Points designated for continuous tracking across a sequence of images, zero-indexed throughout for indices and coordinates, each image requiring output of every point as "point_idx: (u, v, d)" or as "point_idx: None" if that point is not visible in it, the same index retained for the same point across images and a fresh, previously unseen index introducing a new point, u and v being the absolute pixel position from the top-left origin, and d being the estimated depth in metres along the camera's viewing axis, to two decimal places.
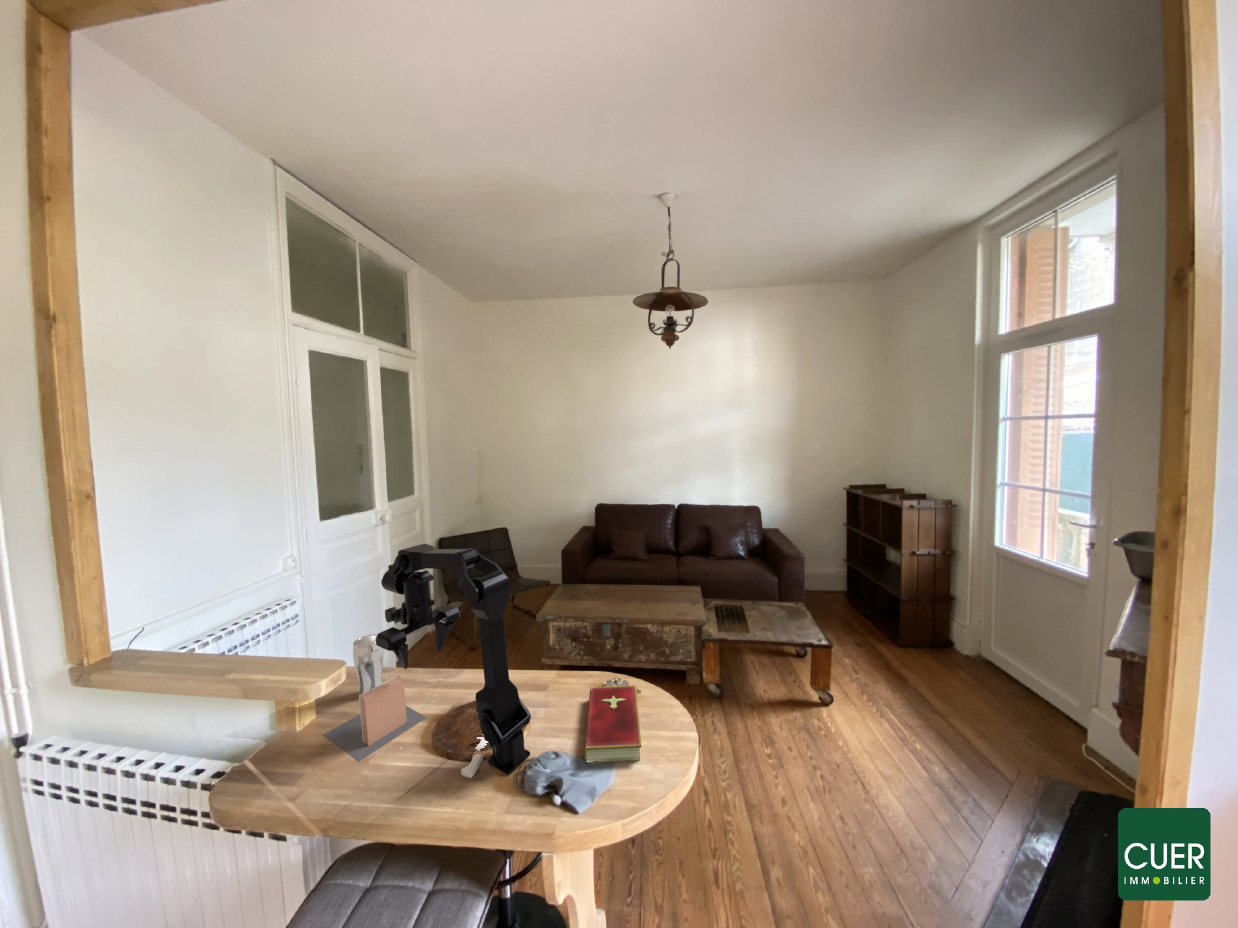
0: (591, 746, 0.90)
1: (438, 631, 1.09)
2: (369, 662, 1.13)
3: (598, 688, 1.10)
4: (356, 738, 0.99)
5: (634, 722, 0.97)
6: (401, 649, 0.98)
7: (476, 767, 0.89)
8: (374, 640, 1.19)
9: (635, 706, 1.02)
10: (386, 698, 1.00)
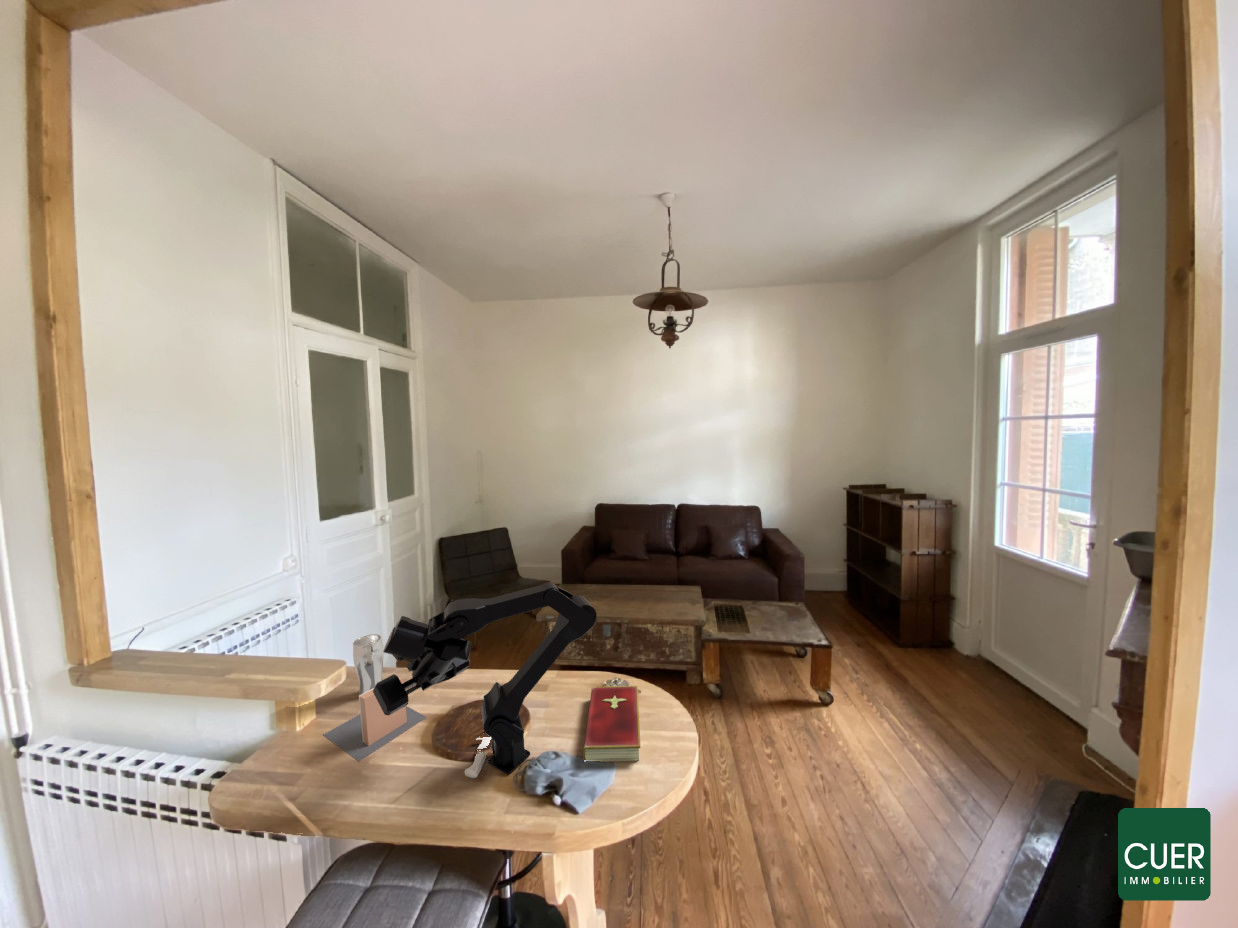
0: (590, 745, 0.90)
1: None
2: (369, 662, 1.13)
3: (600, 688, 1.10)
4: (356, 738, 0.99)
5: (634, 722, 0.97)
6: (400, 708, 0.85)
7: (480, 767, 0.89)
8: (374, 640, 1.19)
9: (636, 706, 1.02)
10: None
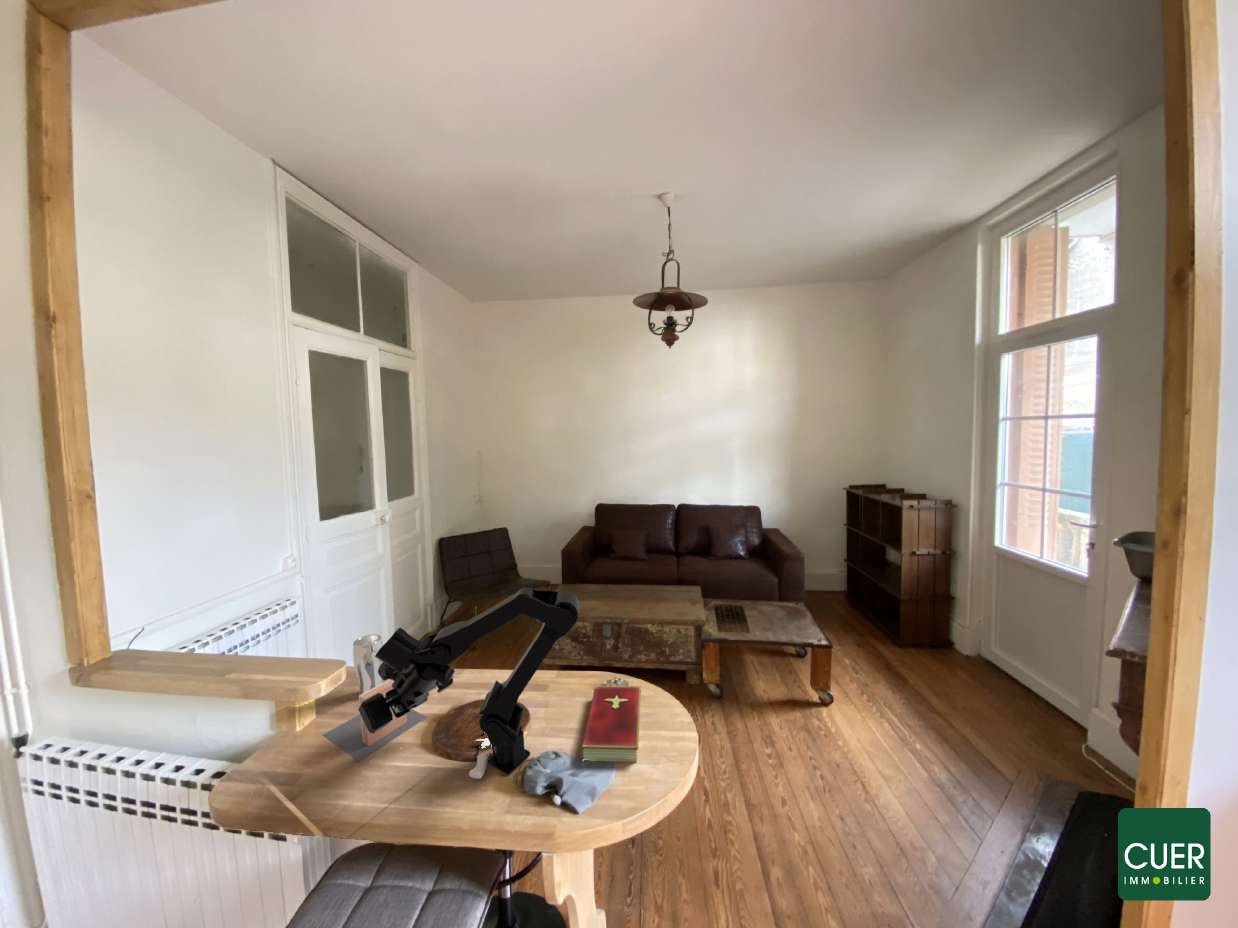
0: (588, 745, 0.91)
1: None
2: (369, 662, 1.13)
3: (602, 687, 1.10)
4: (356, 738, 0.99)
5: (634, 723, 0.96)
6: None
7: (484, 767, 0.89)
8: (374, 640, 1.19)
9: (637, 707, 1.02)
10: None
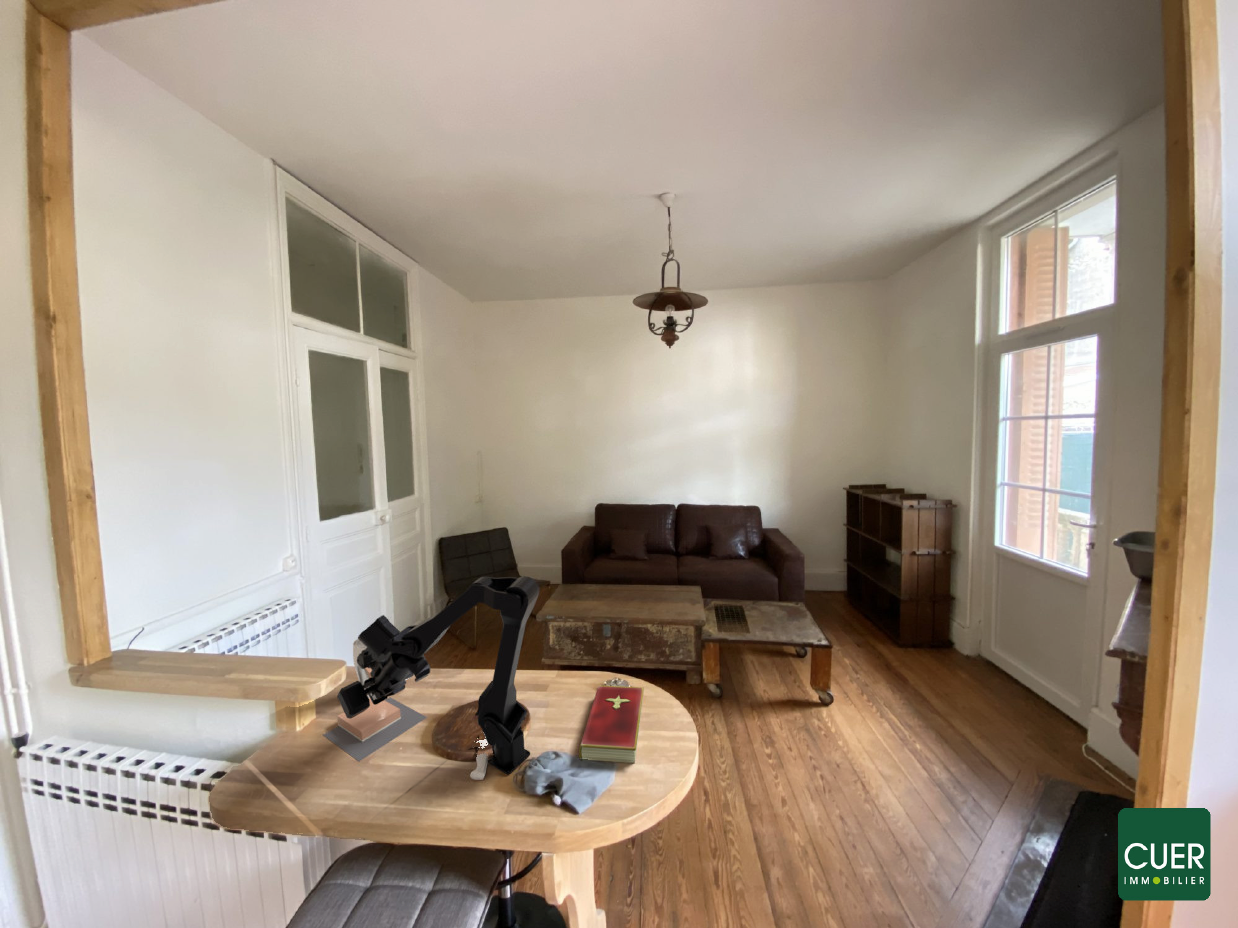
0: (586, 744, 0.91)
1: None
2: None
3: (605, 687, 1.10)
4: (356, 738, 0.99)
5: (634, 724, 0.96)
6: None
7: (485, 768, 0.88)
8: None
9: (638, 708, 1.01)
10: None
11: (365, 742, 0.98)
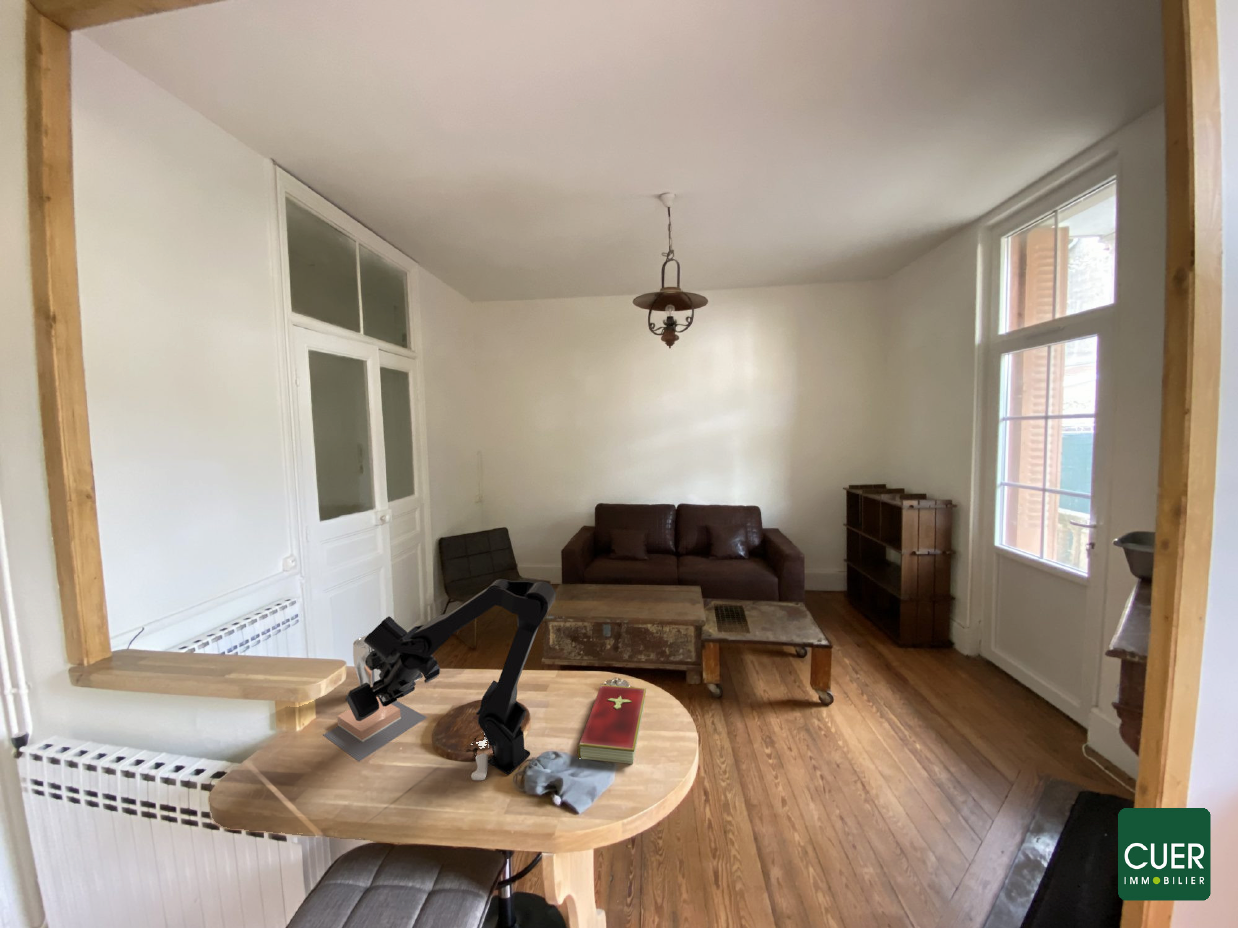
0: (585, 743, 0.91)
1: None
2: None
3: (608, 686, 1.10)
4: (356, 738, 0.99)
5: (634, 725, 0.96)
6: (389, 704, 0.95)
7: (486, 768, 0.88)
8: None
9: (639, 709, 1.01)
10: None
11: (365, 742, 0.98)
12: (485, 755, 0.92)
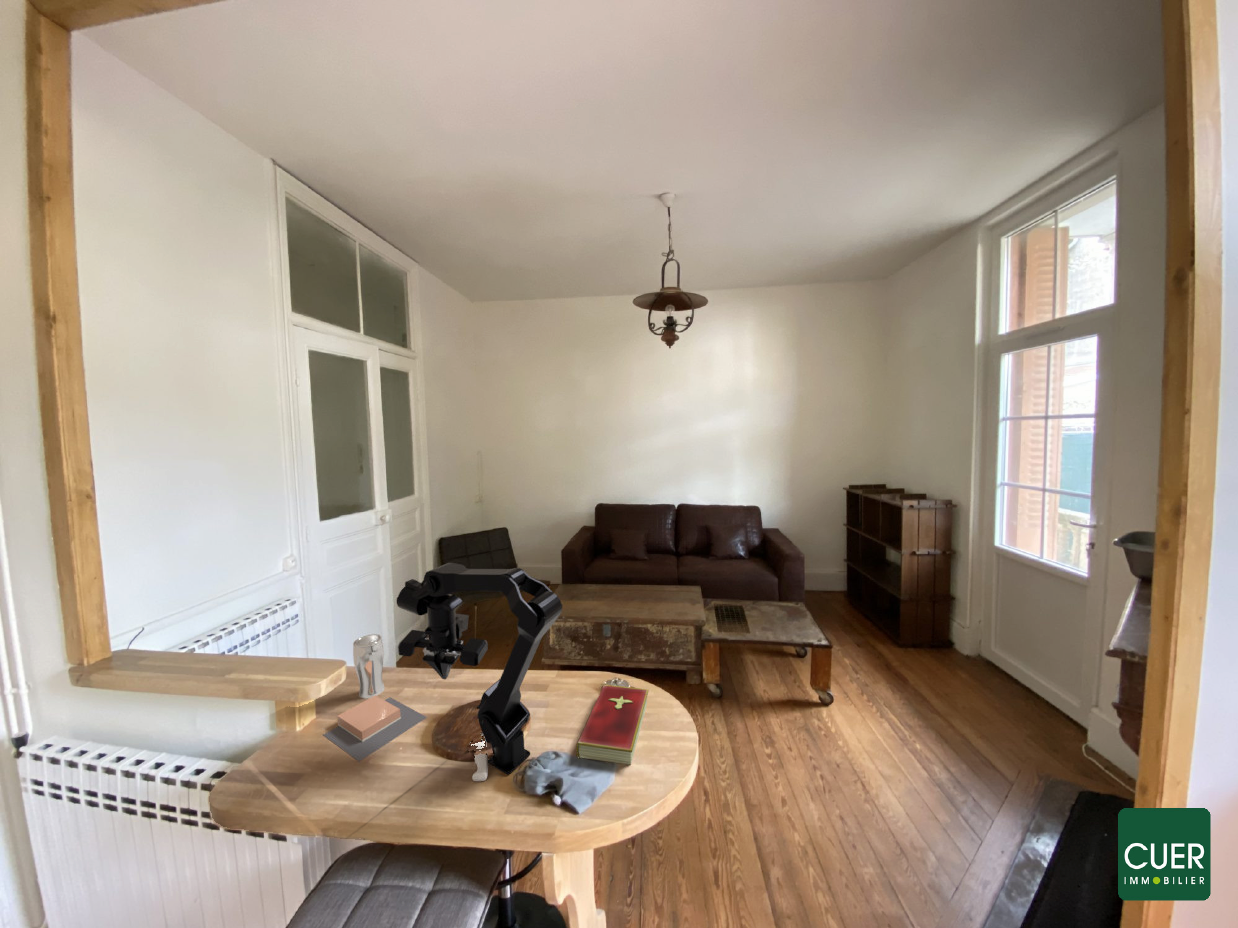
0: (584, 742, 0.91)
1: None
2: (369, 662, 1.13)
3: (610, 686, 1.10)
4: (356, 738, 0.99)
5: (633, 726, 0.96)
6: (427, 661, 0.96)
7: (487, 769, 0.88)
8: (374, 640, 1.19)
9: (640, 710, 1.01)
10: (363, 707, 1.06)
11: (365, 742, 0.98)
12: (484, 756, 0.91)
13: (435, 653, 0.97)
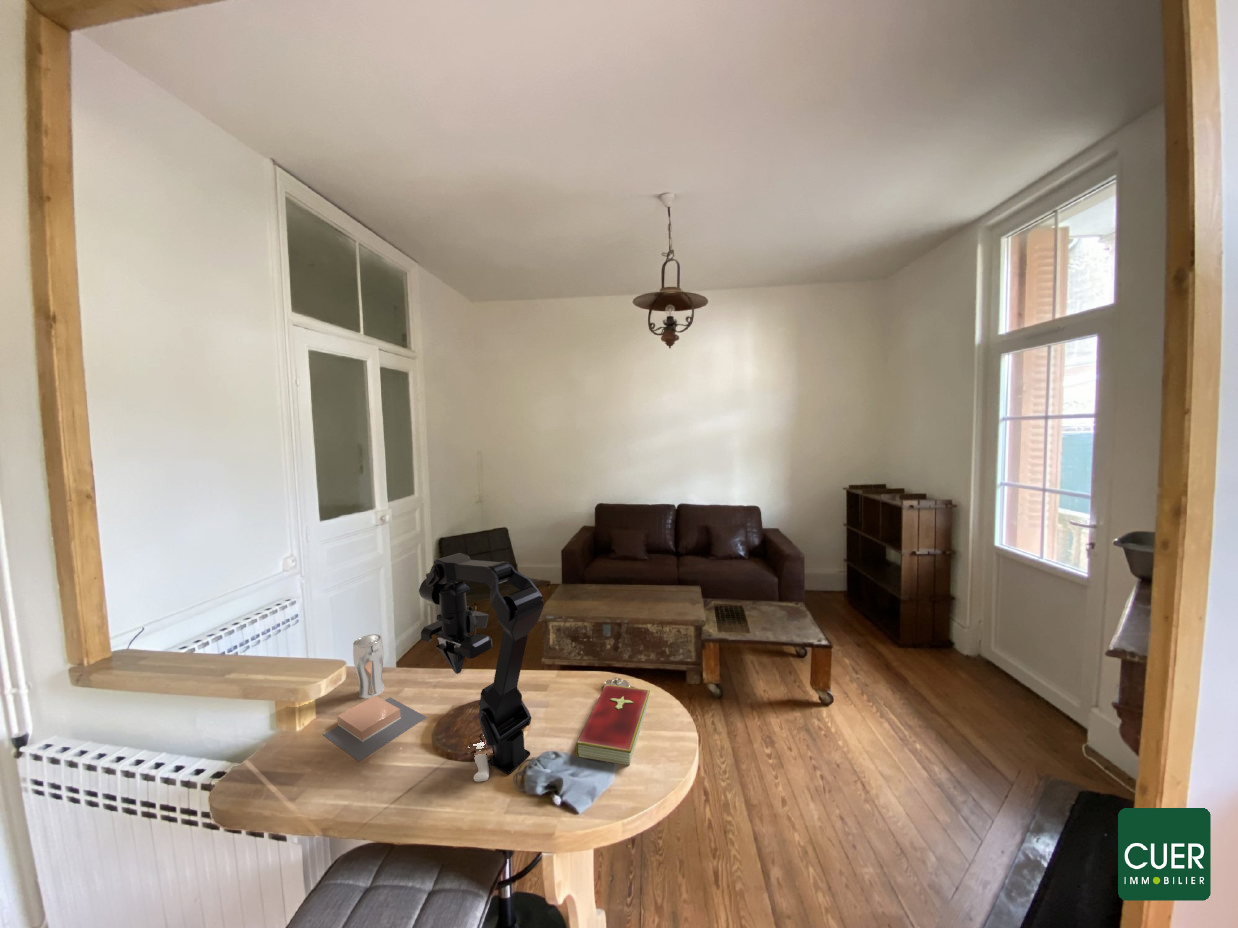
0: (583, 741, 0.91)
1: None
2: (369, 662, 1.13)
3: (612, 686, 1.10)
4: (356, 738, 0.99)
5: (633, 726, 0.95)
6: (439, 649, 1.00)
7: (488, 769, 0.88)
8: (374, 640, 1.19)
9: (640, 711, 1.01)
10: (363, 707, 1.06)
11: (365, 742, 0.98)
12: (485, 756, 0.91)
13: (447, 642, 1.01)
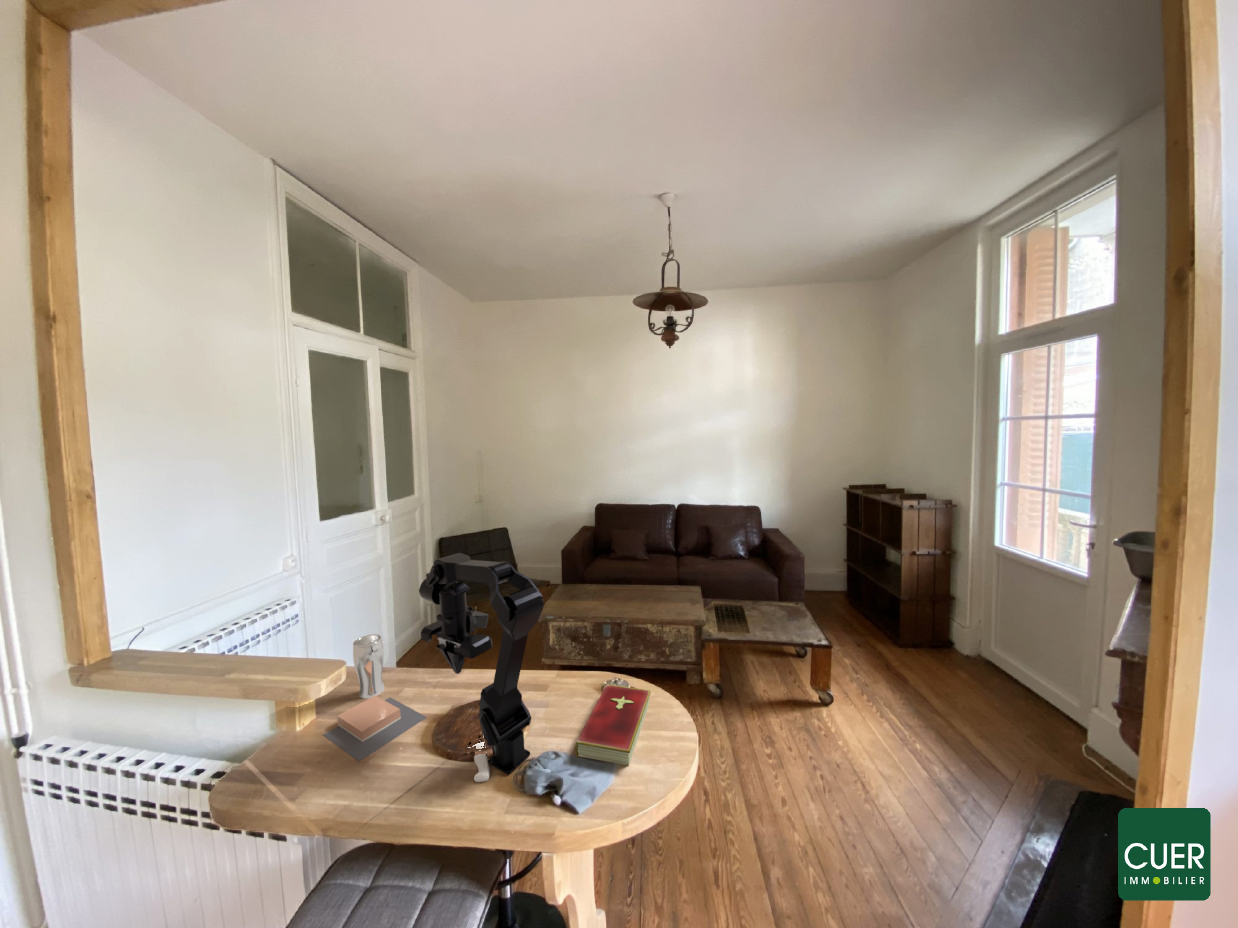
0: (582, 741, 0.92)
1: None
2: (369, 662, 1.13)
3: (613, 686, 1.10)
4: (356, 738, 0.99)
5: (633, 726, 0.95)
6: (439, 649, 1.00)
7: (488, 769, 0.88)
8: (374, 640, 1.19)
9: (640, 711, 1.01)
10: (363, 707, 1.06)
11: (365, 742, 0.98)
12: (485, 756, 0.91)
13: (447, 642, 1.01)
